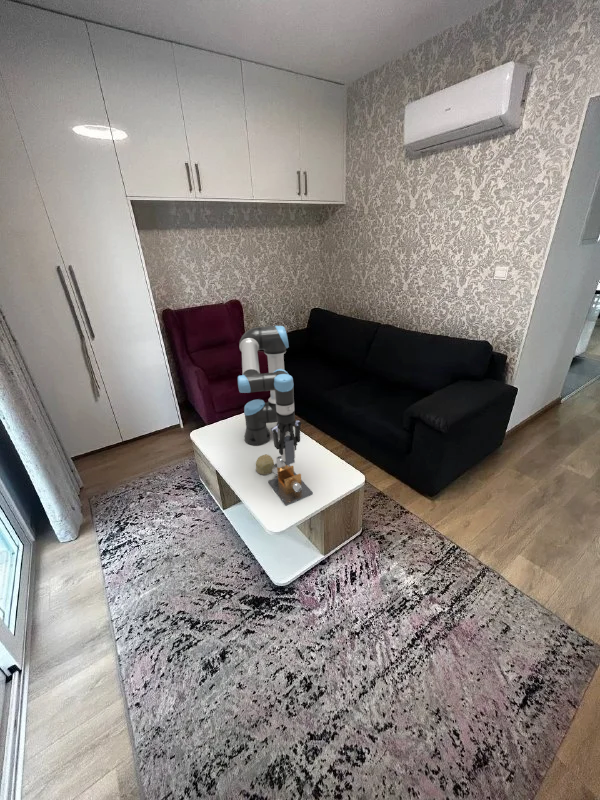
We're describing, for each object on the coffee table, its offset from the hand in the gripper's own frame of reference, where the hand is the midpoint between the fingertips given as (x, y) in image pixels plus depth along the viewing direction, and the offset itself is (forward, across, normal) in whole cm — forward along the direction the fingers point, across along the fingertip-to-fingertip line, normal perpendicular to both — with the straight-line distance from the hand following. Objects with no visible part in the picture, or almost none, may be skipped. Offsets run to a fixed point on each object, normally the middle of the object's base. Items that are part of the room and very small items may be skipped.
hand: (288, 458), depth 146 cm
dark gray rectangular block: (+2, 0, 0) cm, 2 cm away
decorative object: (+17, -4, +19) cm, 26 cm away
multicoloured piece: (+17, 0, +2) cm, 17 cm away
